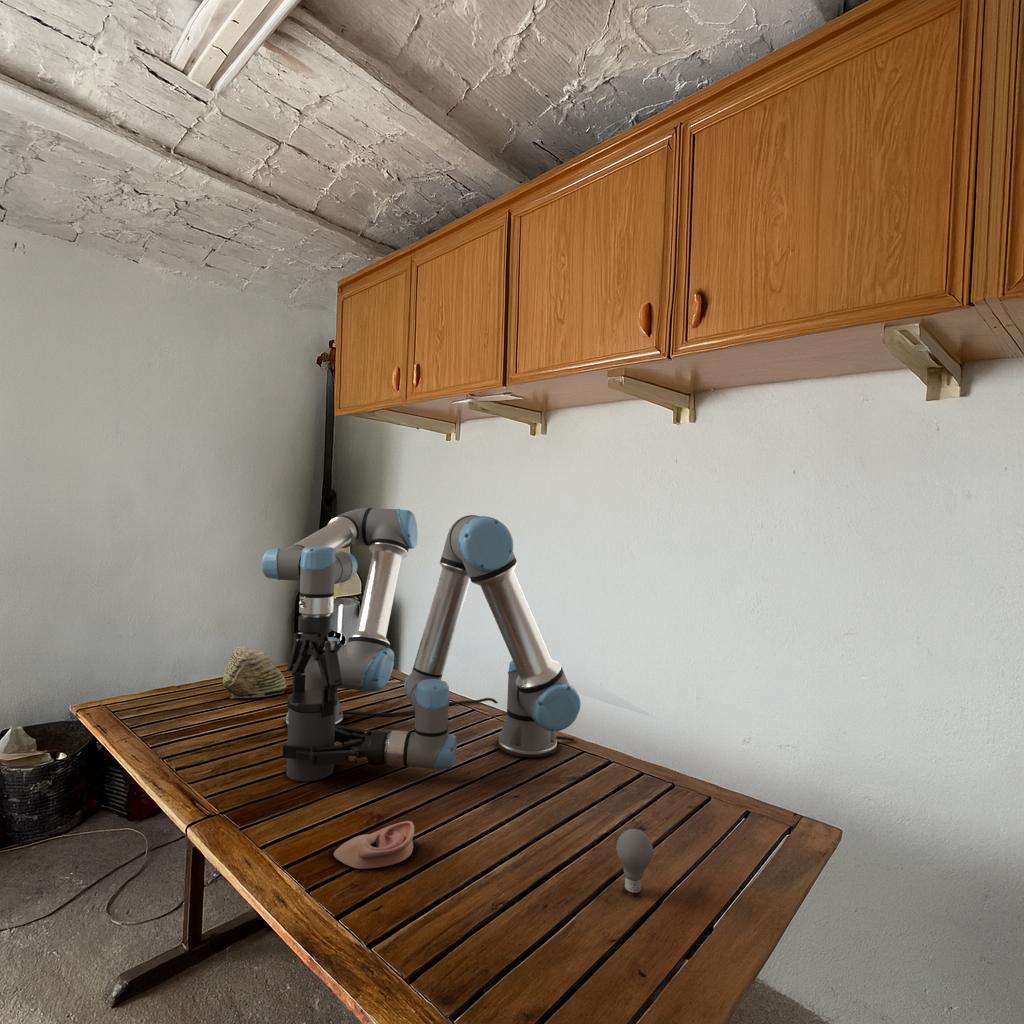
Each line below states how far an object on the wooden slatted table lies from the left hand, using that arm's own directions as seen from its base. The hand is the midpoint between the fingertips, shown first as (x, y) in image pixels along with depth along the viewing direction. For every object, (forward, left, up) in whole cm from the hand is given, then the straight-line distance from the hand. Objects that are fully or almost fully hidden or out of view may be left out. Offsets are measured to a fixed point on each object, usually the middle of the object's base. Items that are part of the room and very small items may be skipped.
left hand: (312, 709), depth 145 cm
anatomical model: (+11, +37, -14) cm, 41 cm away
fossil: (-20, -59, -14) cm, 64 cm away
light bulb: (-10, +77, -14) cm, 79 cm away
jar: (0, 0, -14) cm, 14 cm away
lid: (0, 0, +3) cm, 3 cm away
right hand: (+2, -3, -8) cm, 9 cm away
